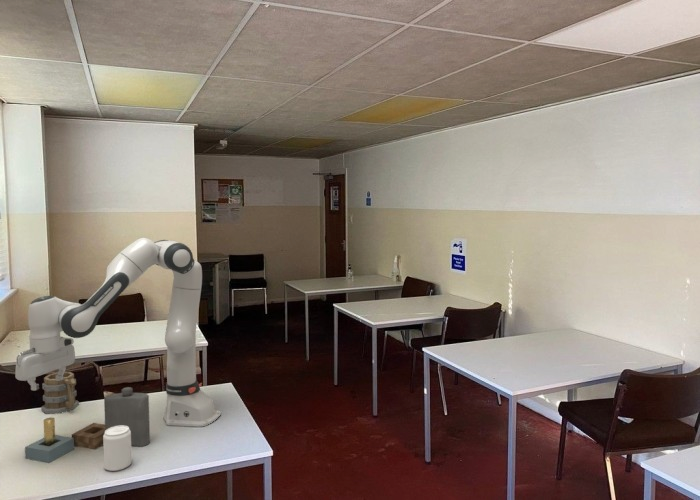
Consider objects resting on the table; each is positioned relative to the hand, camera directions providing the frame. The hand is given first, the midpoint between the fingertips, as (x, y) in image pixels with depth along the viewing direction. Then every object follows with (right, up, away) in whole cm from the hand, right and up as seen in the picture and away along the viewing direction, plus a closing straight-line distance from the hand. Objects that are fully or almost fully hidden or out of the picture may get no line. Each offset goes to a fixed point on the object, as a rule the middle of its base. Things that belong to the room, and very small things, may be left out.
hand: (47, 384), depth 165 cm
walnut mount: (+10, -23, +11) cm, 28 cm away
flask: (+23, -24, +9) cm, 34 cm away
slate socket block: (0, -24, +2) cm, 24 cm away
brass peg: (0, -24, +2) cm, 24 cm away
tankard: (-17, -22, +39) cm, 48 cm away
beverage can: (+27, -25, -6) cm, 37 cm away
